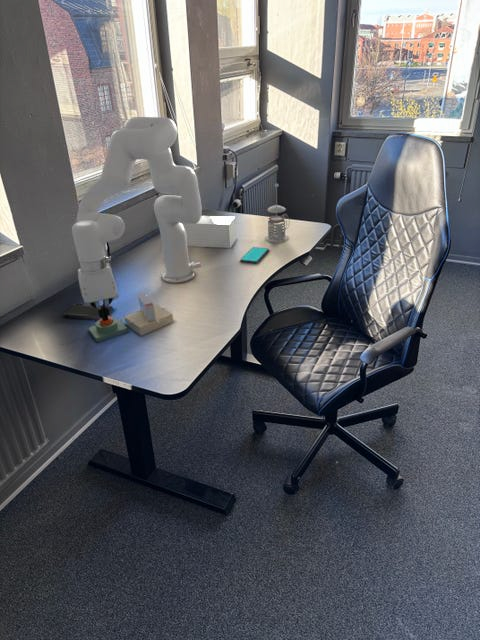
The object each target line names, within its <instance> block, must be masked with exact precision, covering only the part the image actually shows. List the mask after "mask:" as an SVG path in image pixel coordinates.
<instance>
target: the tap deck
mask: <svg viewBox="0 0 480 640" xmlns="http://www.w3.org/2000/svg"><path fill="white" fill-rule="evenodd" d="M153 305H154V311H155V317H156V320H154V321H150V322H148V321H147V319H146V318H145V316H144V315H143V313H142V312H141V310H140V307H137V308H136V309H137V310H136V311H134V312H131V313H129V314H127V315H124V316H123V317H124V323H125V324H124V325H125V326H126V327H128V328H130V329H131V330H132V331H134V332H136V333H137V334H138V335H139V336H141V337H142V336H144V335H145V334H148V333H150V332H153V331H155V330H158V329H160V328H163V327H165V326H167V325H169V324H171V323H174V317H173V313H172V312H170V311H168V310H167V309H166V307H163V306H162V307H161V306H160V305H158V304H157V303H153Z"/></svg>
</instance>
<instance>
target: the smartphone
mask: <svg viewBox="0 0 480 640" xmlns="http://www.w3.org/2000/svg"><path fill="white" fill-rule="evenodd" d="M269 250H270V249H269V247H268V248H266V247H257V246H256V247H255V246H253V247H251V248H250V249H249V251H247V252H246V253H245V255H243V256H242V257H241V258H240V262H241V263H249V264H258V263H259V262H260V261H261V260H262V258H264V257H265V255H267V253H269Z"/></svg>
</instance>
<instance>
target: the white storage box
mask: <svg viewBox="0 0 480 640" xmlns="http://www.w3.org/2000/svg"><path fill="white" fill-rule="evenodd" d="M182 225H183V226H184V228H185V231H186V237H187V246H188V247H202V248H220V249H221V248H222V249H231V248H232V246H233V245H234V244H235V242H236V241H237V227H236V216H219V215H218V216H215V215H214V216H213V215H201V219H200V220H199V222H197V223H195V224H183V223H182Z"/></svg>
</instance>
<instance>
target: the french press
mask: <svg viewBox="0 0 480 640" xmlns="http://www.w3.org/2000/svg"><path fill="white" fill-rule="evenodd" d="M273 187H275V192H276V193H275V205H272V206H270V207H268V208H267V212H268V213H272V214H275V215H271V216H269V217H268V221H267V227H268V228H267V236H266V238H265V240H266V241H267V242H269V243H277V244H278V243H284V242H286V241H288V237H287V236H286V230H287V228H289V227H290V225H288V223H290V218H289V216H288V215H287V213H284V212H285V211H286V210H287V208H285V207H284V206H282V205H279V204H278V196H277V195H278V191H277V188H278V187H280V185H279V183H275V184H274V185H273ZM280 213H283V214H282V215H278V214H280ZM286 217H287V218H286ZM287 219H288V220H287Z"/></svg>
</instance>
